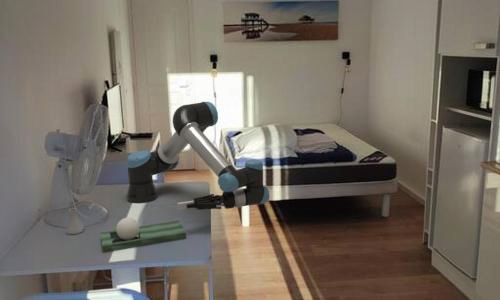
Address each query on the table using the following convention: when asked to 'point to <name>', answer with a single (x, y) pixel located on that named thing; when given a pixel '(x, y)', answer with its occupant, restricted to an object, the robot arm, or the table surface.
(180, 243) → the table surface
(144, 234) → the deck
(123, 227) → the ball
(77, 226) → the flask
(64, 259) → the table surface
